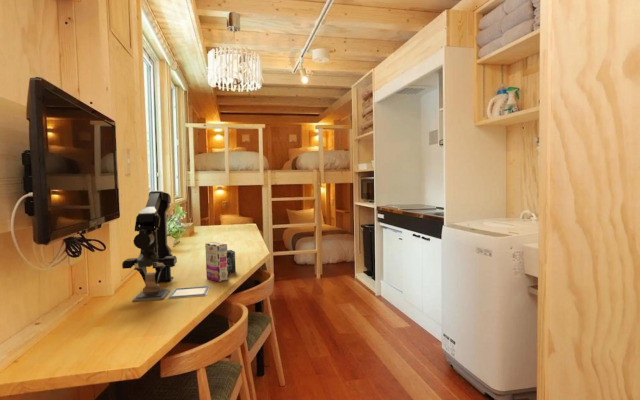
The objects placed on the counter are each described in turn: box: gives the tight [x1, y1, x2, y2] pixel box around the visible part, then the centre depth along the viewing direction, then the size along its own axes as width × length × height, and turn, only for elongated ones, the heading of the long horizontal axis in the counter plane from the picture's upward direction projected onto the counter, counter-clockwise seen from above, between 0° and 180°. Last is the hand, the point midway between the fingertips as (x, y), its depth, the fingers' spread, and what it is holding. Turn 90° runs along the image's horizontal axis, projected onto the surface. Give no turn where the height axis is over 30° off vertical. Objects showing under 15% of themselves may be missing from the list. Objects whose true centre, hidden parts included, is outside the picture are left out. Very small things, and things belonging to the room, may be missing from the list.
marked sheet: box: [166, 285, 211, 300], centre depth 147 cm, size 12×14×1 cm
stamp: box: [142, 271, 161, 294], centre depth 143 cm, size 5×5×7 cm
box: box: [227, 249, 237, 275], centre depth 177 cm, size 8×6×11 cm
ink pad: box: [131, 288, 171, 303], centre depth 143 cm, size 11×11×1 cm
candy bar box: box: [205, 241, 229, 283], centre depth 165 cm, size 11×5×16 cm, turn 47°
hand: (151, 283), depth 143 cm, fingers closed on stamp, 3 cm apart
